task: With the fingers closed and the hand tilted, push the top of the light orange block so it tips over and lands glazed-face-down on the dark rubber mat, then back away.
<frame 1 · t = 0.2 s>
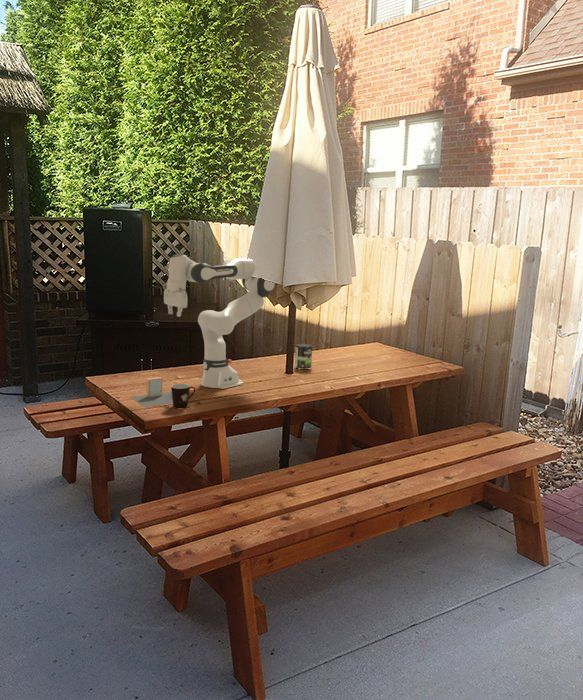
hand: (174, 315, 316), 39 cm above the table, tool pointing down, fingers open, 8 cm apart
light orange block: (154, 396, 311), resting on mat
coffee can: (302, 368, 384), on the table
coffee mug: (183, 407, 298), on the table
mat: (158, 399, 307), on the table
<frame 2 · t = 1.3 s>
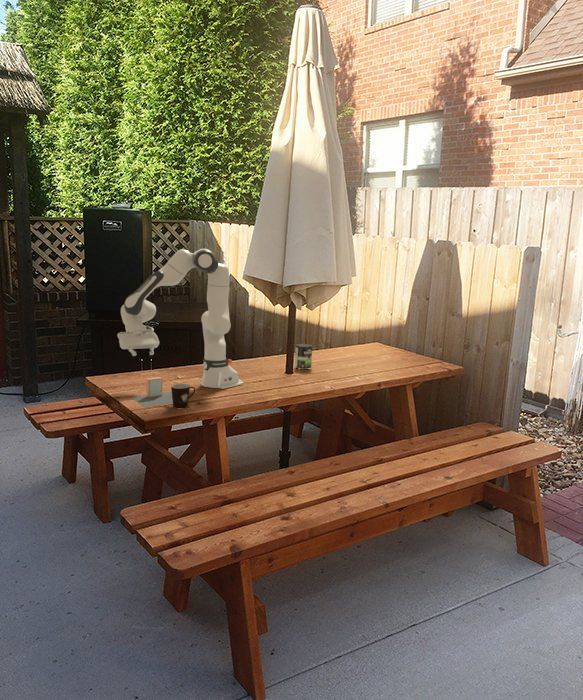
hand: (143, 354, 316), 19 cm above the table, tool tilted 45°, fingers open, 8 cm apart
nothing on the table moved.
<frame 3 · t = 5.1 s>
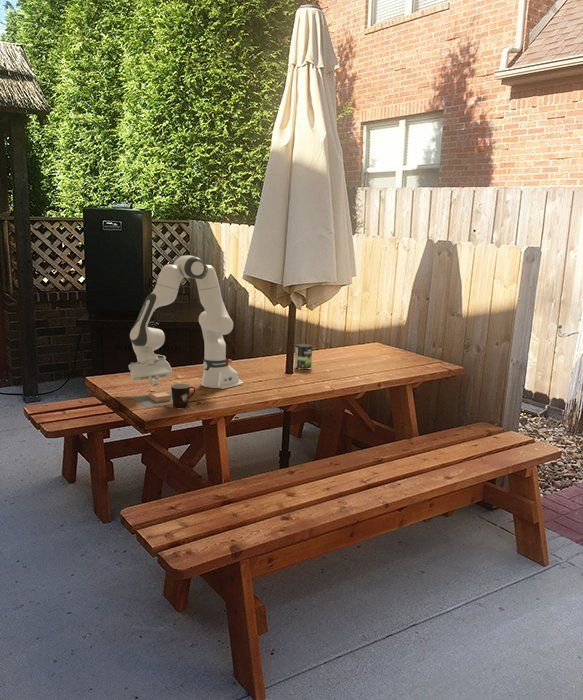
hand: (156, 385, 308), 6 cm above the table, tool tilted 45°, fingers closed
light orange block: (155, 394, 310), point 2 cm above the table, tilted 90°, touching mat
everything else where it was.
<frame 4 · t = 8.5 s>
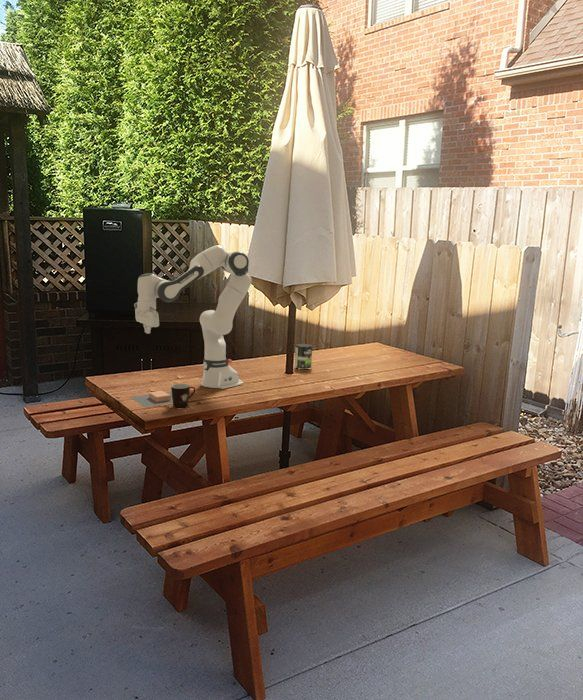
hand: (147, 333, 321), 28 cm above the table, tool pointing down, fingers closed
nothing on the table moved.
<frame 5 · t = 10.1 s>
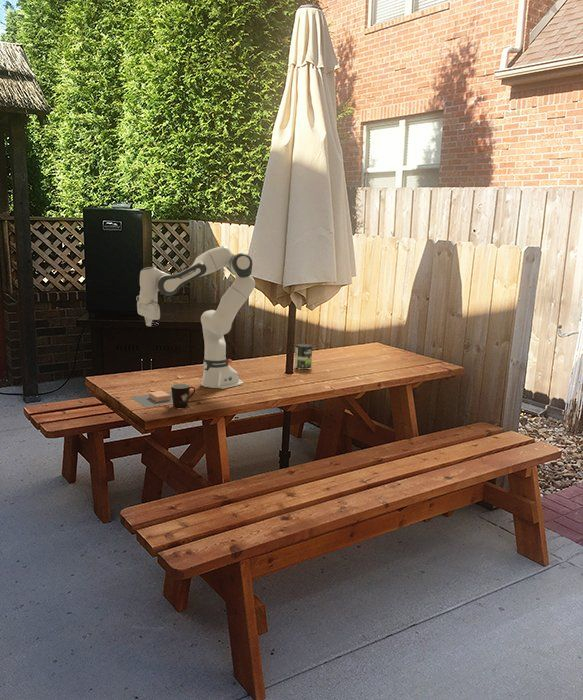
hand: (148, 325, 326), 31 cm above the table, tool pointing down, fingers closed
nothing on the table moved.
at the end: light orange block tilted 90°; light orange block inside the target area (4.2 cm from its centre), point 1.7 cm above the table; light orange block moved 1.9 cm from its start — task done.
